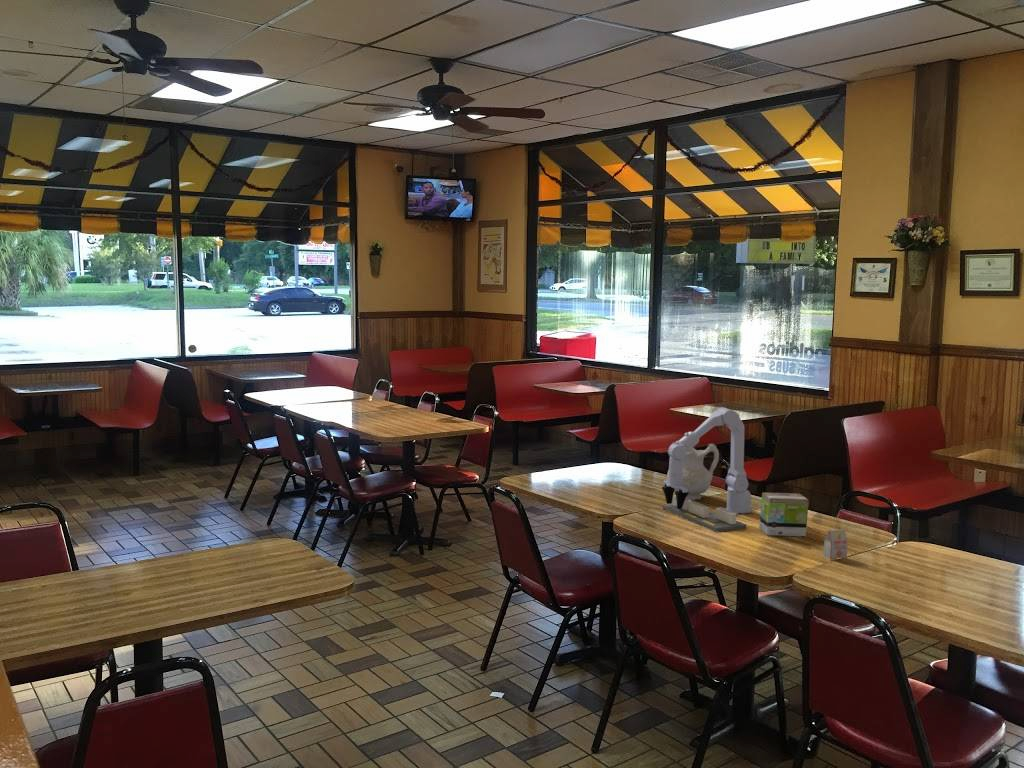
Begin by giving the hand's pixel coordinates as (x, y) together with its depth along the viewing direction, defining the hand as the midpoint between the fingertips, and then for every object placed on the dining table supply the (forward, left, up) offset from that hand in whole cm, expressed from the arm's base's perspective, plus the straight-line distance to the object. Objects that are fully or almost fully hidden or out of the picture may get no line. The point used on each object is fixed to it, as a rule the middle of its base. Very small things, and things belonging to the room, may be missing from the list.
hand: (674, 505), depth 355 cm
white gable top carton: (-19, +70, -3) cm, 72 cm away
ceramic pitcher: (-23, -20, -3) cm, 30 cm away
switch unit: (-6, +11, -3) cm, 13 cm away
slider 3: (-8, +23, -1) cm, 24 cm away
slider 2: (-4, +12, -1) cm, 12 cm away
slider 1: (-4, 0, -1) cm, 4 cm away
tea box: (-23, +39, -3) cm, 45 cm away
